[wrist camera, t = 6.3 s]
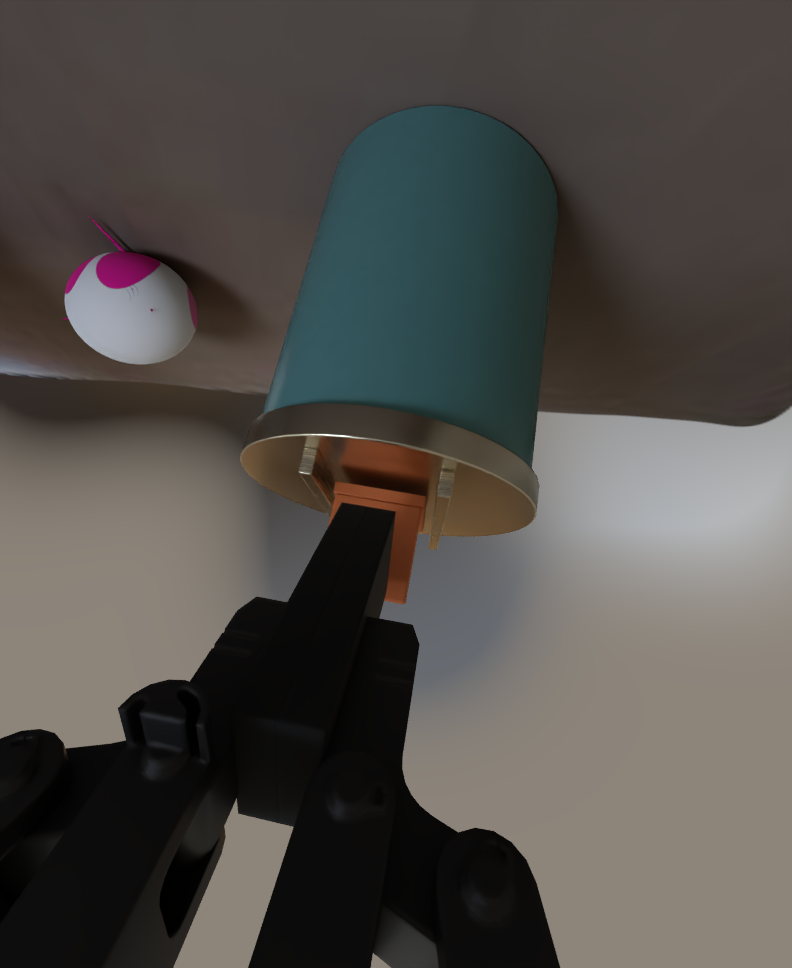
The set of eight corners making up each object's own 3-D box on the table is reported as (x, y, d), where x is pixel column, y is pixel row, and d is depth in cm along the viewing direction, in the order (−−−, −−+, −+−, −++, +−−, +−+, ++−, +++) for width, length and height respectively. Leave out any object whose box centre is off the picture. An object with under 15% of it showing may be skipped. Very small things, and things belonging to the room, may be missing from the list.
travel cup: (299, 81, 17) (173, 437, 12) (608, 109, 16) (581, 504, 11) (343, 292, 27) (280, 526, 22) (531, 316, 26) (502, 566, 22)
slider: (335, 480, 15) (310, 585, 14) (427, 495, 15) (408, 604, 14) (349, 509, 19) (330, 595, 18) (424, 522, 18) (409, 610, 17)
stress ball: (194, 194, 26) (103, 209, 21) (241, 336, 31) (176, 378, 26) (91, 212, 28) (-12, 230, 23) (149, 342, 33) (73, 381, 28)
